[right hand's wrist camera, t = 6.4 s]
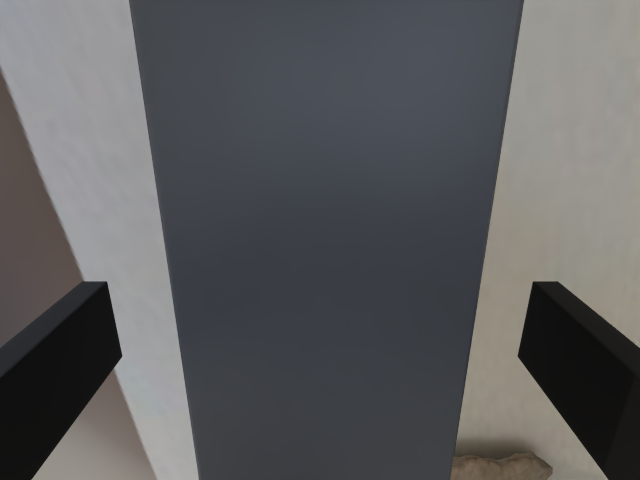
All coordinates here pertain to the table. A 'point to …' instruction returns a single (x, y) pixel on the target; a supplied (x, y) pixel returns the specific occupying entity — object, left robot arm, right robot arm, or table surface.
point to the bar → (325, 222)
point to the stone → (500, 468)
